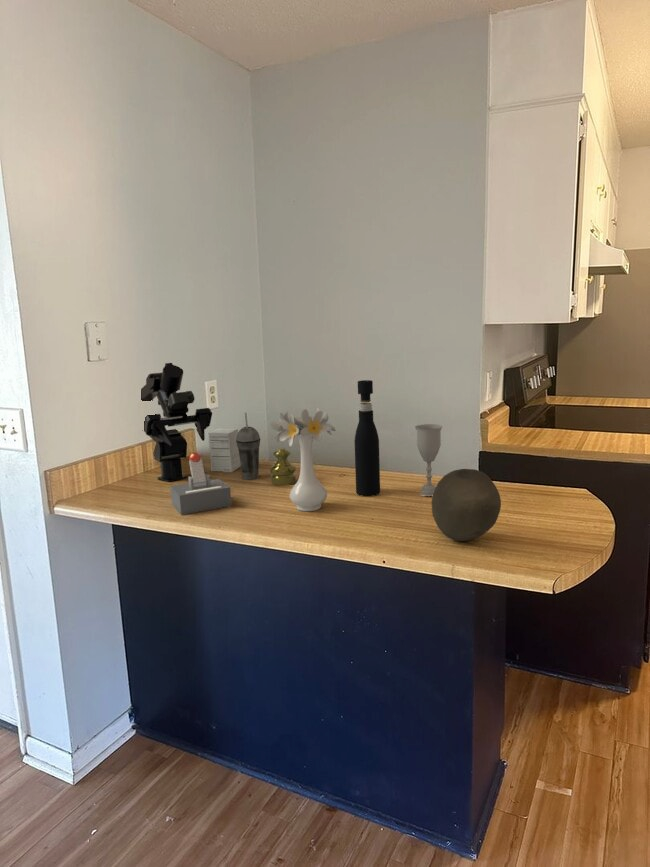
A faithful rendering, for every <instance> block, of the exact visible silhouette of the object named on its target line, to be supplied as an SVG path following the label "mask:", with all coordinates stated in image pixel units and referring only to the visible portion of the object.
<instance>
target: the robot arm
mask: <svg viewBox="0 0 650 867" xmlns="http://www.w3.org/2000/svg"><path fill="white" fill-rule="evenodd" d="M183 377H184V369H182V368H181V367H179V366H178V365H175V364H173V363H172V362H166V363H165V364H164V367H163V368H162V372H153V373H149V374H148V375H147V377H146V378H145V383H146V384H145V385H143V386H142V387H141V400H142V401H151V400H152V401H154V399H155V398H157V404H158V406H160V407H161V410H162V411H163V412H162V415H163V417H162V416H161V414H160V413H157V414H155V415H147V416H146V417H145V421H144V431H143V432H144V434H145V435H146V436H147V437H148V436H149V438H150V439H151V440H153V441H154V442H155V447H154V449H153V453H152V454H153V459H154V460H155V461H157V462H158V463H160V464H159V465H160V471H161V472H160V473H161V476H157V478H156V479H157V480H159V481H160V480H161V481H163V482H169V483H170V482H173V481H175V482H176V481H177V480H182V479H185V478H187V477H188V476H187V475H185V474H183V465H182V459H187V454H188V442H187V439H186V438H185V437H184V436H183V434H182V432H180V431H179V430H178V429H176V428H174V429H167V428H166V426H167V427H168V428H169V427H175V426H182V425H191V424H194V426H195V427H196V429H195V430H196V432H197V434H198V435H199V438H200V439H201V441H203V442H204V441H205V435H206V434H205V430H206V429H207V428H209V427H210V426H211V423H212V422H211V421H212V417H213V412H212V410H211V408H210V407H204V408H197V409H195V414H191V415H188V414H187V413H189V408H188V405H189V404H190V405H191V404H193V403H194V401H195V395H194V393H193V391H192V390H187V391H181V386H182V381H183ZM179 391H181V392H179Z"/></svg>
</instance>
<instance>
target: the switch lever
mask: <svg viewBox="0 0 650 867" xmlns="http://www.w3.org/2000/svg"><path fill="white" fill-rule="evenodd" d="M188 460H189V461H188V464H189V468H190V474H191V477H192V478H193V484H198V483H204V482H206V479H205V474H206V473H205V469H204V462H203V458H202V456H201V455H200V454H199V453H198V452H192V453H191V454H189V457H188Z"/></svg>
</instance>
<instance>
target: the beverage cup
mask: <svg viewBox="0 0 650 867" xmlns="http://www.w3.org/2000/svg"><path fill="white" fill-rule="evenodd" d="M244 421H245V426H243V427H242V428H241V429H238V434H237V438H236V442H237V447H238V450H239V457H240V463H241V466H240V469H241V475H242V479H243V480H245V479H246V480H247V481H251V480H252V481H253V480H256V479H258V478H259V470H260V469H259V463H260V462H259V461H260V458H259V457H260V445H261V437H260V434H259V432H258V430H257V429H255V428H254V427H252V426H249V425H248V416H247V412H244ZM246 480H245V481H246Z"/></svg>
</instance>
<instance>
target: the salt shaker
mask: <svg viewBox="0 0 650 867" xmlns="http://www.w3.org/2000/svg"><path fill="white" fill-rule="evenodd" d="M291 453H292V452H291V451H290V450H288V449H286V448H284V447H281V448H278V449H277V450H275V451H274V452H273V456H275V457H276V458H277V461H276V462H275V463H274V464H273V465H272V466H271V467H270V468H269V471H270V483H271V484H272V485H274V486H289V485H293V484H296V483H297V474H296V465H294V464H292V463H291V462H290V460H288V457H289V456H290V455H291Z"/></svg>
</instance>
